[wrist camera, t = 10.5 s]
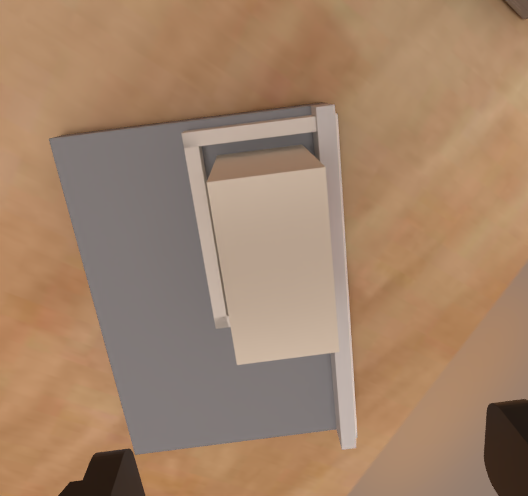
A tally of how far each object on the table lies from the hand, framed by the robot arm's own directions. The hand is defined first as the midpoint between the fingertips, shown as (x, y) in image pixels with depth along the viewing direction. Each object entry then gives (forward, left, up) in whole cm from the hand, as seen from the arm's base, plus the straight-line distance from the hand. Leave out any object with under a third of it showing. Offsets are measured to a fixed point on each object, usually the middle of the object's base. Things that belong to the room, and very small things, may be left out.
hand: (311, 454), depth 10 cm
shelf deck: (+5, -4, -21) cm, 22 cm away
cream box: (0, 0, -19) cm, 19 cm away
